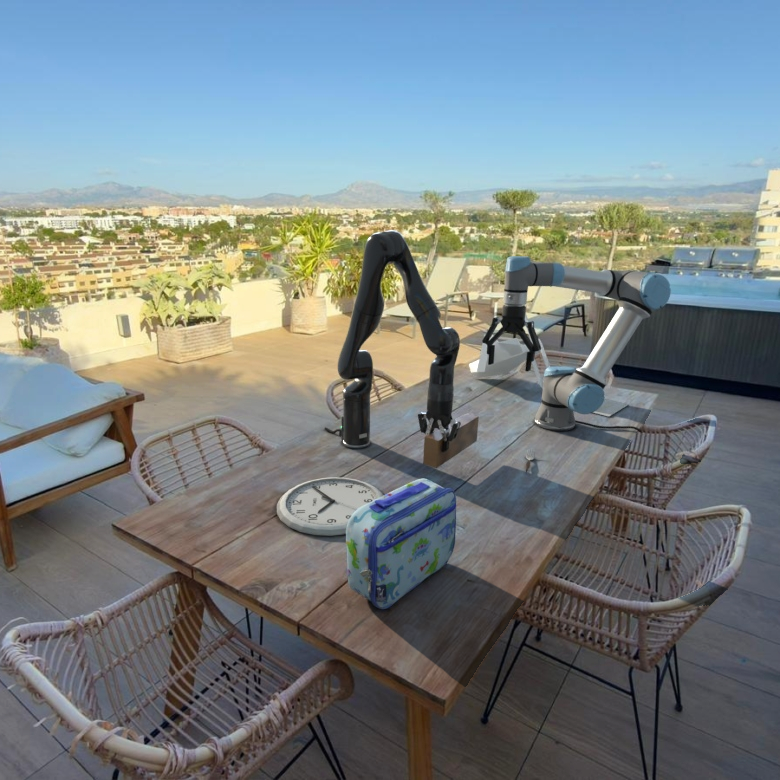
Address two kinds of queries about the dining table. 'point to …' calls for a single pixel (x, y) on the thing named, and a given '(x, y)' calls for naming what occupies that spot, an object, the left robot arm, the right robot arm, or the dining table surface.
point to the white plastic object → (506, 358)
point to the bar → (461, 442)
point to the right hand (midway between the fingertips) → (508, 367)
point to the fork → (529, 460)
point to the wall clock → (324, 504)
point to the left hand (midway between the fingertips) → (437, 448)
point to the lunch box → (400, 540)
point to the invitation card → (610, 408)
